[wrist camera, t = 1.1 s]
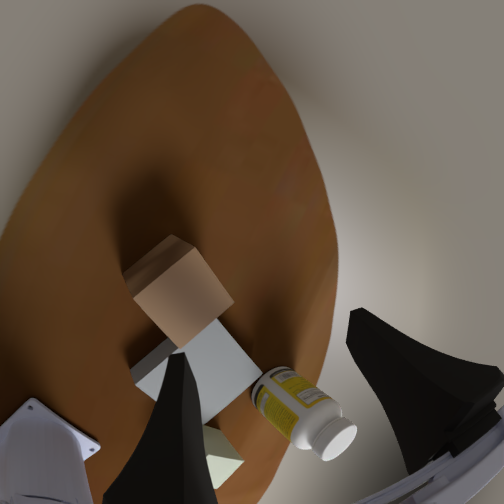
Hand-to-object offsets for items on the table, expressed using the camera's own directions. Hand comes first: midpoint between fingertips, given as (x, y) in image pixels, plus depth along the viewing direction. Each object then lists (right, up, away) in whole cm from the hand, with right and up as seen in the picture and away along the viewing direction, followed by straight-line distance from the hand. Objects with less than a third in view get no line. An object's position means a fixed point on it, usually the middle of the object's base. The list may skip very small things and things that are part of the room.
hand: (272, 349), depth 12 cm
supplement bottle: (+1, -10, +17) cm, 20 cm away
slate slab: (-6, -6, +12) cm, 15 cm away
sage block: (-7, -15, +13) cm, 21 cm away
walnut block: (-7, +2, +9) cm, 12 cm away
